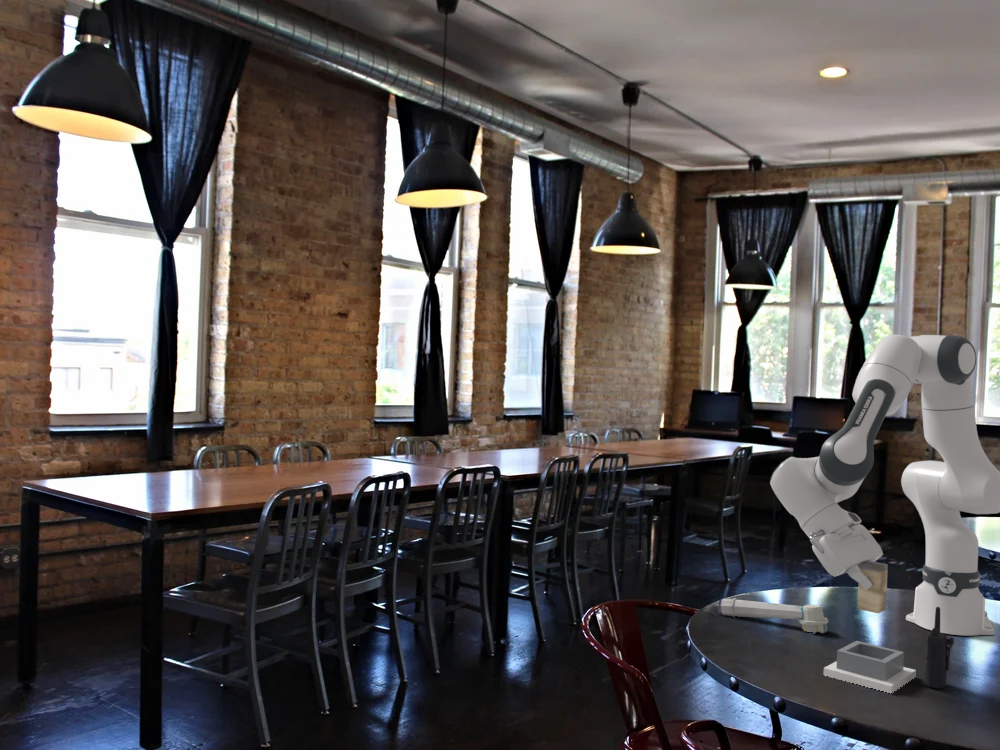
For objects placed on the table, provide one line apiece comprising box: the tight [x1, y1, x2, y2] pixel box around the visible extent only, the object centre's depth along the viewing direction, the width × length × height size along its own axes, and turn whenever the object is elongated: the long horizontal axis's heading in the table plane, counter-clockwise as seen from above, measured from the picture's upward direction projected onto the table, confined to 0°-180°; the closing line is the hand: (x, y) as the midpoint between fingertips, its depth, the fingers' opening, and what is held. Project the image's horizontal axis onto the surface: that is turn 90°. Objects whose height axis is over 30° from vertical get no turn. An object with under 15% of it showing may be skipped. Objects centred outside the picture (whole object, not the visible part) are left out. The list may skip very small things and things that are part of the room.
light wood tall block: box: [857, 561, 889, 614], centre depth 174 cm, size 4×4×9 cm
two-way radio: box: [925, 607, 955, 690], centre depth 170 cm, size 6×4×15 cm
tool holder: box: [823, 640, 917, 695], centre depth 174 cm, size 13×13×5 cm
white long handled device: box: [717, 597, 829, 634], centre depth 209 cm, size 5×7×25 cm
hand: (875, 585), depth 174 cm, fingers closed on light wood tall block, 4 cm apart
